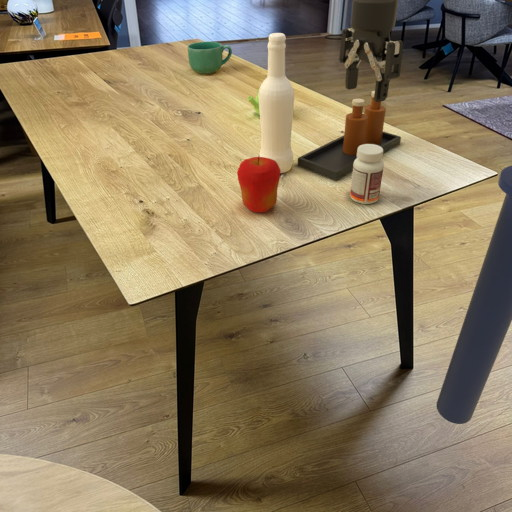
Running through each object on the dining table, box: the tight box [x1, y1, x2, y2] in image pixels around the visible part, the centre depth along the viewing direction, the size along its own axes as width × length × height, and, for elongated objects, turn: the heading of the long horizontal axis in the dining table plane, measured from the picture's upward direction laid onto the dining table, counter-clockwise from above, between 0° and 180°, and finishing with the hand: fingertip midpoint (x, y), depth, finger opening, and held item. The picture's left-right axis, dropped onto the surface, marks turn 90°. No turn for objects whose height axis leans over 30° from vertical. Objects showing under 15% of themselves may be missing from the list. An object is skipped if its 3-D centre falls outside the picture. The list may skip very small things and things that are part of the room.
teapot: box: [247, 87, 260, 116], centre depth 142 cm, size 11×12×8 cm
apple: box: [236, 156, 281, 213], centre depth 97 cm, size 9×8×12 cm
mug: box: [187, 41, 233, 75], centre depth 180 cm, size 17×13×10 cm
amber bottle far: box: [363, 90, 387, 145], centre depth 121 cm, size 5×5×13 cm
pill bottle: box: [349, 144, 385, 205], centre depth 99 cm, size 6×6×11 cm
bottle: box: [258, 32, 295, 175], centre depth 107 cm, size 8×8×30 cm
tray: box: [297, 131, 402, 181], centre depth 120 cm, size 28×12×2 cm, turn 135°
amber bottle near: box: [343, 98, 368, 155], centre depth 117 cm, size 5×5×13 cm
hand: (364, 94), depth 89 cm, fingers open, 8 cm apart
